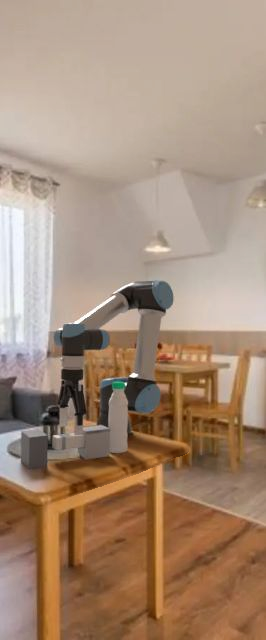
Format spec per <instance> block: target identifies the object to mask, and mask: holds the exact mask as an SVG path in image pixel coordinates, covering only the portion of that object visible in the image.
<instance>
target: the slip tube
mask: <svg viewBox="0 0 266 640" xmlns="http://www.w3.org/2000/svg"><path fill="white" fill-rule="evenodd" d="M51 444H52V449H54V450H55V451H64V450H65V451H66V450H71V449H78V448H79V447H85V434H84V433H83V435H76V436H75V435H74V432H73V433H63V434H56V435H55V434H54V435H52V443H51Z"/></svg>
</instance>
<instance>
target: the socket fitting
mask: <svg viewBox="0 0 266 640" xmlns="http://www.w3.org/2000/svg"><path fill="white" fill-rule="evenodd" d="M20 432H21V435H20V436H21V437H20V439H21V440H20V462H22V464H23V465H24V466H25V467H26V468H27V469H29V470H32V469H37V468H44V467H48V445H49V444H48V440H49V439H48V438H49V436H48V434H47V433H45V432H44V431H42V430H40V429H29V430H22V431H20Z"/></svg>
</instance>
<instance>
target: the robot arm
mask: <svg viewBox="0 0 266 640" xmlns="http://www.w3.org/2000/svg"><path fill="white" fill-rule="evenodd" d="M173 304H174V293H173V289H172V287H171V285H170V284H169V283H167V281H165V280H158V279H156V280H155V279H154V280H145V281H143V280H141V281H140V280H138V281H133V282H130V283H127V284H126V285H124V286H122V287H121V288H119V289H117V290H116V291H115V292H113V293H112V294H110V298H108V299H107V300H106V301H104V302H103V303H100V305H98V306H96V307H95V308H94V309H93V310H91V311H90V312H88V313H87V314H85V315H84V316H82V317H81V318H80V319H78V320H76V321H75V322H65V323H64V324H63V326H62V327H60V328H57V330H56V331H54V333H53V340H54V343H55V345H56V346H57V347H59V348H61V358H60V362H61V369H60V371H61V372H60V379H61V382H60V383H61V384H60V390H59V393H58V398H57V402H56V403H57V406H58V407H59V421H58V422H59V428H65V427H68V420H69V419H68V417H69V414H68V413H69V412H68V410H69V405H68V404H69V402H70V400H72V404H73V407H74V408H73V409H74V411H75V413H74V414H73V416H74V423H73V424H74V427H73V429H74V431H73V433H74V435H75V436H76V435H83V427H84V416H85V415H87V413H88V411H87V407H86V406H87V405H86V400H85V393H84V384H82V383H81V384H80V383H79V382H80V381H83V379H84V367H85V351H100V350H107V348H108V347H109V345H110V343H111V337H110V333H109V332H108V331H107V330H105V329H102V327H104V326H105V325H106V324H108V323H109V322H110V321H112V320H113V319H115V318H116V317H117V316H119V315H120V314H125V313H127V312H128V311H131V310H137V312H138V314H139V315H140V318H139V324H138V331H137V332H138V333H137V339H136V347H135V353H134V360H133V368H132V373H131V374H130V375H128V377H126V376H121V377H120V376H119V377H109V378H103V379H102V380H101V381H100V385H99V387H100V388H99V416H98V418H97V421H96V424H95V425H103V426H105V427H107V428H109V426H108V416H109V400H110V398H111V395H112V393H113V388H112V383H113V382H124V383H125V390H124V393H125V395H126V398H127V400H128V406H127V407H128V411H129V412H130V411H131V412H135V413H139V414H150V413H152V412H153V411H155V409H157V408H158V406H159V404H160V401H161V396H162V394H161V393H162V392H161V389H160V387H159V386H158V385H157V382H158V381H157V379H156V378H155V368H156V367H155V366H156V361H157V353H158V346H159V345H158V344H159V338H160V332H161V331H160V330H161V324H162V318H163V317H165V316H166V314H167V310H169V309H170V308H171V307H172V306H173ZM127 434H128V435H131V434H132V425H131V422H130V418H129V416H128V426H127Z"/></svg>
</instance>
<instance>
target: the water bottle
mask: <svg viewBox="0 0 266 640" xmlns="http://www.w3.org/2000/svg"><path fill="white" fill-rule="evenodd" d="M112 388H113V393H112V395H111V398H110V400H109V416H108V426H109V429H110V454H111V453H112V454H123V453H126V452H127V451H128V434H127V426H128V417H129V412H128V411H129V410H128V407H127V406H128V400H127V398H126V395H125V393H124V390H125V383H124V382H113V383H112Z"/></svg>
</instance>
